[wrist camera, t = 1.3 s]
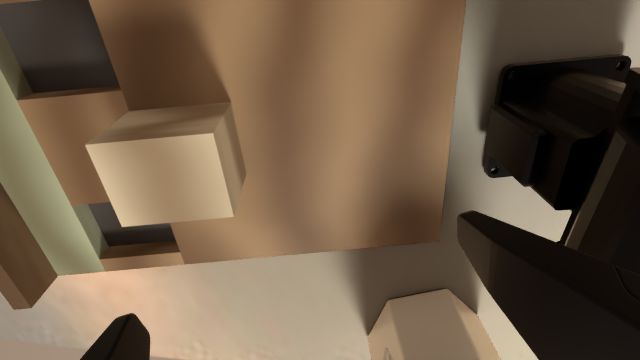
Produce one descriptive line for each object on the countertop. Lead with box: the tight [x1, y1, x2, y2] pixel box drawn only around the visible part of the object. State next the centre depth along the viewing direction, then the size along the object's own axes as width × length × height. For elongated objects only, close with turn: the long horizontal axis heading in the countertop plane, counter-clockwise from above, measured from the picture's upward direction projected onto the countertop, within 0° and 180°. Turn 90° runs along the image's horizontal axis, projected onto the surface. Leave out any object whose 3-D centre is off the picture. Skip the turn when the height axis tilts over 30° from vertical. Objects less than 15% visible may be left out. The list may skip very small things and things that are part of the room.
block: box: [85, 102, 246, 227], centre depth 16 cm, size 5×4×4 cm
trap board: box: [0, 0, 466, 310], centre depth 18 cm, size 25×16×4 cm, turn 95°
